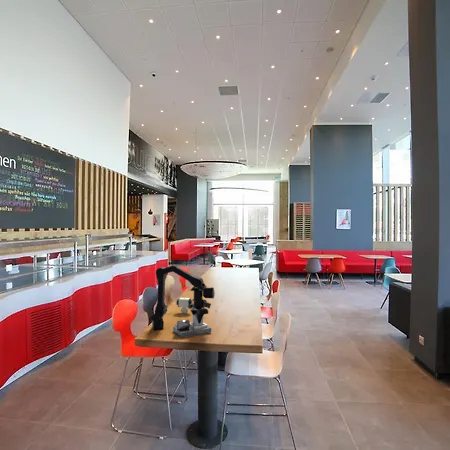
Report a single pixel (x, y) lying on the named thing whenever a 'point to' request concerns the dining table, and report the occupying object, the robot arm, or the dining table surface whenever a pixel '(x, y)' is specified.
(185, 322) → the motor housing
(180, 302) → the pneumatic valve
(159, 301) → the robot arm
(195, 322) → the drain pump
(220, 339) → the dining table surface
